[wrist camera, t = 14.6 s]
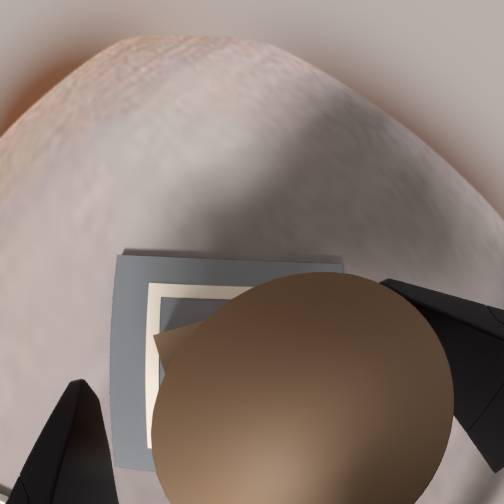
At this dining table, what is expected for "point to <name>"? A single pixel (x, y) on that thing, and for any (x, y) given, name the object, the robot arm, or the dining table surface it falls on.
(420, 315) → the stamp
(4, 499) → the ink pad
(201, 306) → the form board
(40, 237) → the dining table surface
